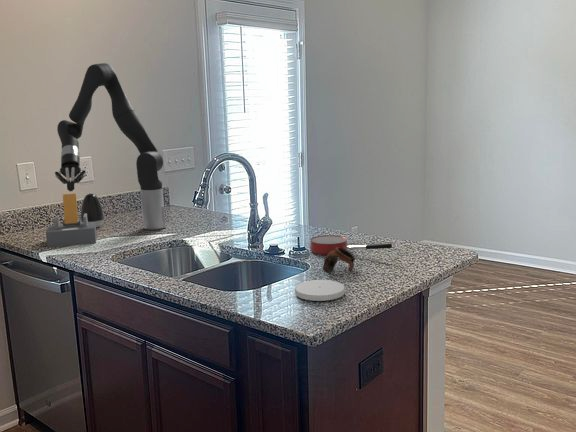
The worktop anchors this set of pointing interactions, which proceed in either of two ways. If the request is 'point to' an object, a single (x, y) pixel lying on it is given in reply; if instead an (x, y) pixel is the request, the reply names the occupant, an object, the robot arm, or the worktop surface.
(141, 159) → the robot arm
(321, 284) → the plastic lid
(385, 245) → the frying pan
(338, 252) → the brown arched piece
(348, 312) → the worktop surface
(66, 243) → the switch box
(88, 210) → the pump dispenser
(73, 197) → the lever
